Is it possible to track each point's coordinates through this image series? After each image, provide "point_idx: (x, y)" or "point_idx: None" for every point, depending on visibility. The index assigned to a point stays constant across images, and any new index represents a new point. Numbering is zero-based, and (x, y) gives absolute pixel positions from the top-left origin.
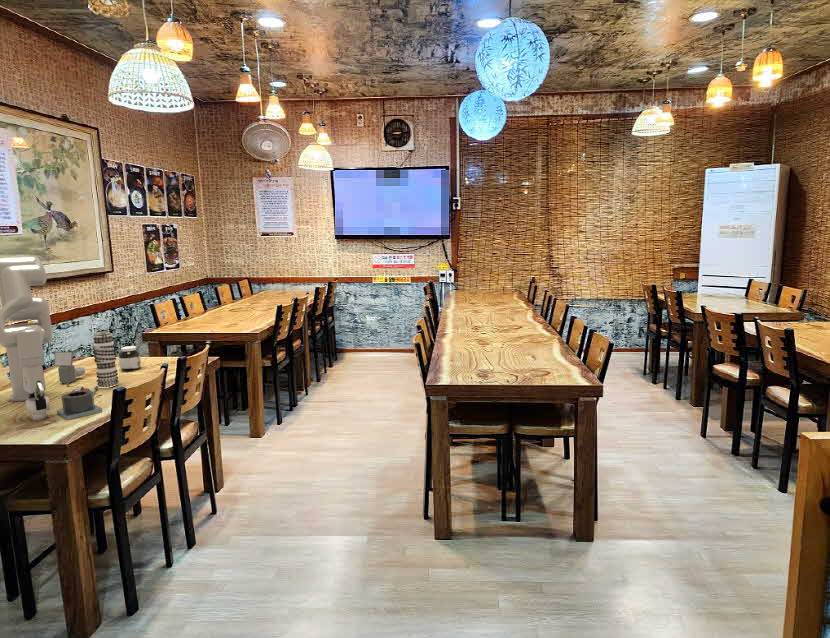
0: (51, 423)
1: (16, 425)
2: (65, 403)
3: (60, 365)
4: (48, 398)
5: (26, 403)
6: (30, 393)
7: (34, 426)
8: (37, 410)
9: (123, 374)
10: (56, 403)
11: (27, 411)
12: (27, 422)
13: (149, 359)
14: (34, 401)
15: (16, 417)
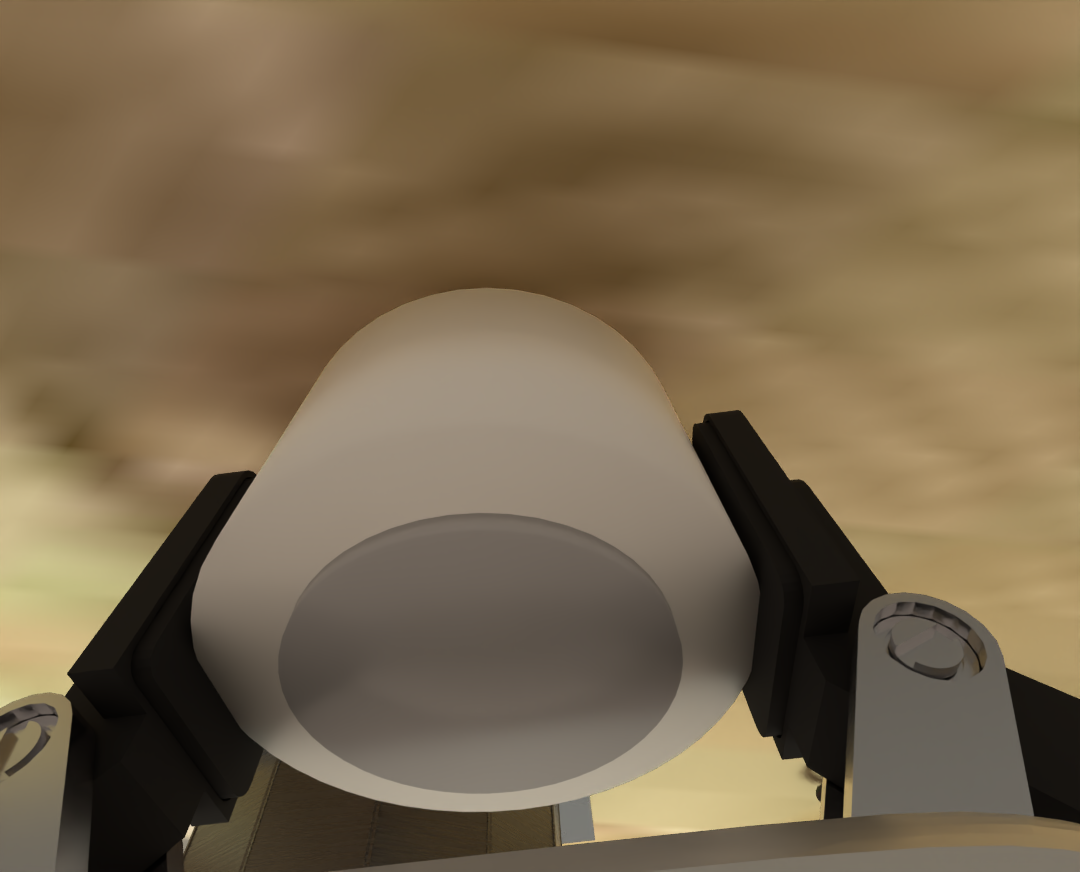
0: (92, 483)
1: (285, 3)
2: (249, 822)
3: None
4: (416, 794)
5: (411, 400)
6: (854, 707)
7: (31, 280)
8: (223, 478)
9: None
10: (1047, 614)
11: (441, 305)
12: (375, 216)
13: None
14: (251, 604)
15: (898, 89)
